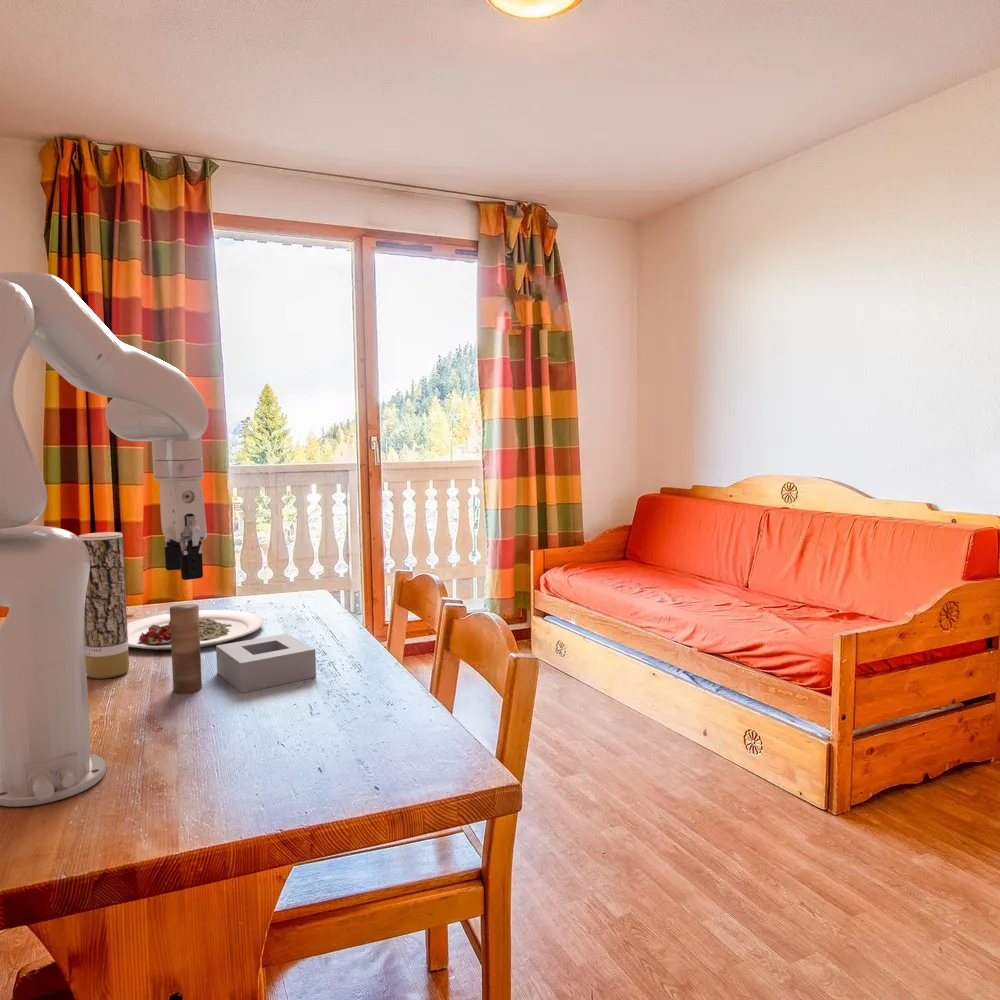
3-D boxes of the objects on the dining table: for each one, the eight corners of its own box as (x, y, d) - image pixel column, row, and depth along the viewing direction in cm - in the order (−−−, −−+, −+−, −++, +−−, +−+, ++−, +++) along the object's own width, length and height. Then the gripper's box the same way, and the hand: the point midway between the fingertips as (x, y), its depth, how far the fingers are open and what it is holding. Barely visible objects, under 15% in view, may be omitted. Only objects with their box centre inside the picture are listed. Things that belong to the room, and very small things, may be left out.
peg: (205, 689, 125) (201, 607, 124) (177, 695, 123) (173, 611, 122) (197, 682, 129) (194, 602, 128) (170, 688, 126) (166, 606, 125)
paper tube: (111, 681, 130) (104, 537, 128) (77, 678, 131) (69, 536, 129) (137, 669, 137) (131, 532, 134) (105, 667, 138) (97, 531, 136)
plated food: (281, 618, 175) (281, 603, 175) (233, 656, 145) (232, 639, 145) (153, 617, 176) (153, 603, 175) (79, 655, 146) (78, 638, 146)
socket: (316, 677, 132) (315, 649, 131) (241, 692, 124) (240, 663, 123) (287, 659, 142) (286, 633, 142) (217, 673, 134) (216, 645, 134)
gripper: (218, 472, 118) (223, 579, 120) (187, 467, 132) (192, 563, 134) (167, 474, 114) (173, 586, 115) (141, 469, 127) (147, 568, 129)
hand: (184, 573), depth 125 cm, fingers open, 9 cm apart
